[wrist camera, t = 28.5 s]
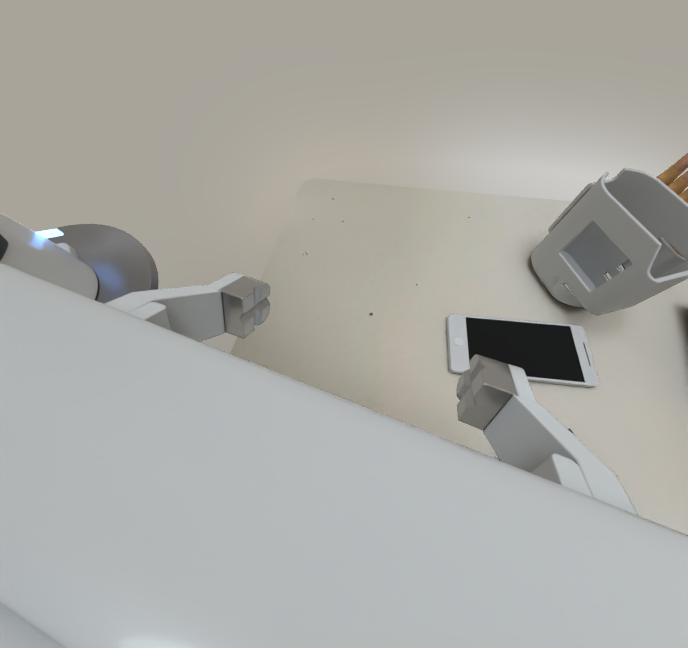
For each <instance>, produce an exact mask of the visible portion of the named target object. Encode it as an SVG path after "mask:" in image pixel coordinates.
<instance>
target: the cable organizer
mask: <svg viewBox="0 0 688 648" xmlns="http://www.w3.org/2000/svg"><path fill="white" fill-rule="evenodd" d="M608 174H609V173H608V172H606V173H605V174H604V175H603V176H602V177H601V178H600V179H599V180H598V181H597V182H594V183H590V184H588V185H587V186H586V187H585V188H584V190H582V192H581V193H580V194H579V195H578V196H577V197H576V198H575V199H574V200H573V202H572V203H571V204H570V205H569V206H568V207H567V208H566V209H565V211H564V212H563V213H562V214H561V215H560V216H559V217H558V218H557V219H556V221H555V222H554V223H553V224H552V225H551V226H550V227H549V230H548V231H549V234H548V235H547V236H546V237H545V239H544V240H543V241H542V242H541V243H540V244H539V245H538V246H537V247H536V248H535V249H534V251H533V252H532V255H531V260H532V265H533V268H534V270H535V272H536V273H537V275H538V276H539V278H540V279H541V280H542V282H543V283H544V285H545V286H546V288H547V289H548V290H549V292H550V293H551V295H552V296H553V297H554V298H555V299H557V300H558V301H560V302H563V303H565V304H568V305H572V306H575V307H584V308H585V309H586V310H588V311H589V312H591V313H593V314H595V315H602V314H605V313H609V312H613V311H617V310H620V309H624V308H628V307H632V306H634V305H636V304H638V303H640V302H642V301H644V300H646V299H648V298H650V297H652V296H654V295H656V294H658V293H660V292H662V291H664V290H666V289H668V288H670V287H672V286H674V285H676V284H678V283H680V282H682V281H684V280H686V279H688V203H687V202H685V201H684V200H683V199H682V198H681V197H679V196H678V195H677V194H676V193H675V192H674V191H672V190H671V189H670V188H669V187H668V186H667V185H665V184H664V183H663V182H662V181H660V180H659V179H658V178H656V177H654V176H653V175H651V174H648V173H646V172H643V171H640V170H636V169H630V168H624V169H623V170H622V171H621V172H620V173H619V174H618V175H617V176H616V177H614V178H613V179H611V180H606V181H604V180H605V178H606V177H607V175H608ZM670 245H671V246H672V247H673V248H674V249H675V250H676V251H677V252H678V253H679V254H680V255H681V256H680V255H679V254H677V253H676V252H675V251H674V249H673V248H672V247H671V246H670ZM683 257H684V258H683ZM621 264H623V266H624V267H625V270H623V271H621V269H620V268H619V267H618V266H619V265H621ZM607 272H608V273H609V274H610V276H611V277H612V278H611V279H610V280H609V279H608V277H607V276H606V273H607ZM565 283H566V284H567V285H568V287H569V288H570V289H571V291H570V290H569V289H567V288H566V287H565V285H564V284H565Z"/></svg>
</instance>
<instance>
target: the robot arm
mask: <svg viewBox="0 0 688 648" xmlns="http://www.w3.org/2000/svg"><path fill="white" fill-rule="evenodd" d="M62 235H63V233H62V232H61V231H59V230H58V229H51V230H46V231H40V232H34V231H32V230H31V229H29V228H27V227H26V226H24V225H22V224H20V223H19V222H17V221H15V220H14V219H12V218H10V217H8V216H6V215H5V214H3V213H1V212H0V648H688V535H686V534H684V533H681V532H679V531H676V530H674V529H671V528H669V527H666V526H664V525H661V524H659V523H656V522H653V521H651V520H648V519H646V518H643V517H641V516H639V515H638V513H637V511H636V510H635V508H634V506H633V504H632V502H631V500H630V499H629V497H628V495H627V493H626V491H625V489H624V488H623V486H622V484H621V482H620V480H619V478H618V477H617V475H616V474H615V473H614V472H613V471H612V470H611V469H609V468H608V467H607V466H606V465H605V464H604V463H603V462H602V461H601V460H600V459H599V458H598V457H597V456H596V455H595V454H594V453H593V452H591V451H590V450H589V449H588V448H587V447H586V446H585V445H584V444H583V443H582V442H581V441H580V440H579V439H578V438H577V437H576V436H575V435H574V434H572V433H571V432H570V431H569V430H568V429H567V428H566V427H565V426H564V425H563V424H562V423H561V422H560V421H559V420H558V419H557V418H556V417H555V416H553V415H552V414H551V413H550V412H549V411H548V410H547V409H546V408H545V407H544V406H543V405H542V404H539V403H537V402H536V400H535V397H534V394H533V392H532V389H531V387H530V384H529V381H528V379H527V376H526V374H525V371H524V370H523V369H522V368H520V367H517V366H513V365H510V364H507V363H503V362H500V361H497V360H494V359H490V358H487V357H484V356H481V355H477V354H475V355H474V356H473V357H472V359H471V360H470V362H469V366H470V369H468V370H466V371H464V372H463V373H462V375H461V377H460V379H459V382H458V385H457V397H458V398H459V400H460V402H459V403H458V405H457V412H458V420H459V421H461V422H464V423H466V424H469V425H471V426H474V427H476V428H478V429H481V430H483V432H484V434H485V436H486V437H487V439H488V441H489V442H490V444H491V446H492V447H493V449H494V451H495V452H496V454H497V456H498V457H499V459H500V461H499V460H497V459H494V458H492V457H489V456H487V455H484V454H482V453H479V452H477V451H474V450H472V449H469V448H467V447H464V446H461V445H459V444H456V443H454V442H451V441H449V440H446V439H444V438H441V437H439V436H436V435H434V434H431V433H429V432H426V431H424V430H421V429H419V428H416V427H414V426H411V425H408V424H406V423H403V422H401V421H398V420H396V419H393V418H391V417H388V416H386V415H383V414H381V413H378V412H376V411H373V410H371V409H368V408H366V407H363V406H360V405H358V404H355V403H353V402H350V401H348V400H345V399H343V398H340V397H338V396H335V395H333V394H330V393H328V392H325V391H323V390H320V389H317V388H315V387H312V386H310V385H307V384H305V383H302V382H300V381H297V380H295V379H292V378H290V377H287V376H285V375H282V374H280V373H277V372H275V371H272V370H270V369H267V368H264V367H262V366H259V365H257V364H254V363H252V362H249V361H247V360H244V359H242V358H239V357H237V356H234V355H232V354H229V353H227V352H224V351H222V350H219V349H217V348H214V347H211V346H209V345H206V344H204V343H201V342H200V341H203V340H206V339H209V338H212V337H215V336H218V335H221V334H223V333H225V332H227V333H230V334H232V335H235V336H238V337H241V338H246V337H247V336H248V335H249V334H250V333H251V332H253V331H254V326H255V325H260V324H262V323H263V322H264V321H265V320H266V318H267V316H268V314H269V310H270V303H269V301H268V299H267V297H268V296H269V295H270V286H269V285H268V284H267V283H264V282H261V281H259V280H256V279H253V278H250V277H247V276H245V275H241V274H239V273H234V272H233V273H231V274H229V275H227V276H225V277H223V278H221V279H219V280H217V281H215V282H213V283H211V284H209V285H207V286H204V285H197V286H187V287H178V288H167V289H157V290H148V291H138V292H131V293H129V294H126V295H124V296H122V297H119V298H117V299H114V300H112V301H109V302H107V303H104V304H103V303H100V302H98V301H95V298H96V295H97V290H98V280H97V276H96V274H95V272H94V270H93V269H92V268H91V267H90V266H89V265H87V264H86V263H84V262H82V261H81V260H80V259H79V257H78V254H77V252H76V250H75V248H73V247H72V246H70V245H68V244H66V243H58V244H55V243H53V242H51V241H50V240H48V239H46V238H51V237H57V236H62Z"/></svg>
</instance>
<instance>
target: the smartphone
mask: <svg viewBox="0 0 688 648" xmlns="http://www.w3.org/2000/svg"><path fill="white" fill-rule="evenodd" d="M446 324H447V343H448V363H449V371H450V372H452V373H457V374H462V373H463V372H464V371H466V370H468V369H470V366H469V362H470V360H471V359H472V357H473V356H474V355H475V354H477V355H481V356H484V357H487V358H490V359H494V360H497V361H500V362H503V363H507V364H510V365H513V366H517V367H520V368H522V369H523V370H524V371H525V374H526V376H527V379H528V381H533V382H542V383H552V384H561V385H571V386H580V387H595V386H599V385H600V381H599V377H598V374H597V371H596V367H595V364H594V360H593V357H592V354H591V350H590V347H589V343H588V340H587V337H586V333H585V330H584V327H582V326H579V325H569V324H558V323H547V322H535V321H524V320H512V319H501V318H489V317H478V316H466V315H455V314H451V315H449V316H448V317H447V318H446Z"/></svg>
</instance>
